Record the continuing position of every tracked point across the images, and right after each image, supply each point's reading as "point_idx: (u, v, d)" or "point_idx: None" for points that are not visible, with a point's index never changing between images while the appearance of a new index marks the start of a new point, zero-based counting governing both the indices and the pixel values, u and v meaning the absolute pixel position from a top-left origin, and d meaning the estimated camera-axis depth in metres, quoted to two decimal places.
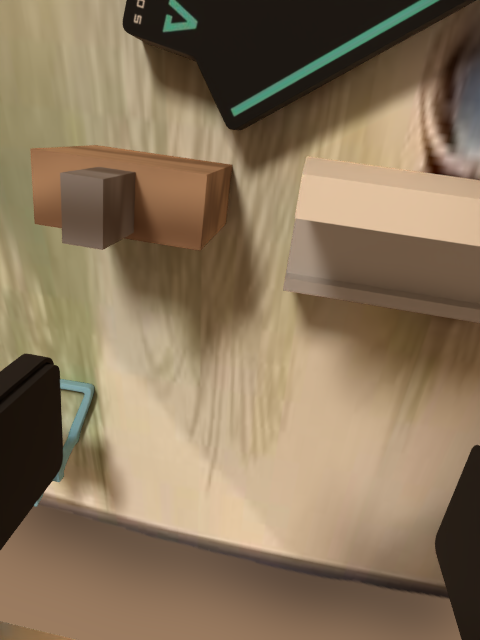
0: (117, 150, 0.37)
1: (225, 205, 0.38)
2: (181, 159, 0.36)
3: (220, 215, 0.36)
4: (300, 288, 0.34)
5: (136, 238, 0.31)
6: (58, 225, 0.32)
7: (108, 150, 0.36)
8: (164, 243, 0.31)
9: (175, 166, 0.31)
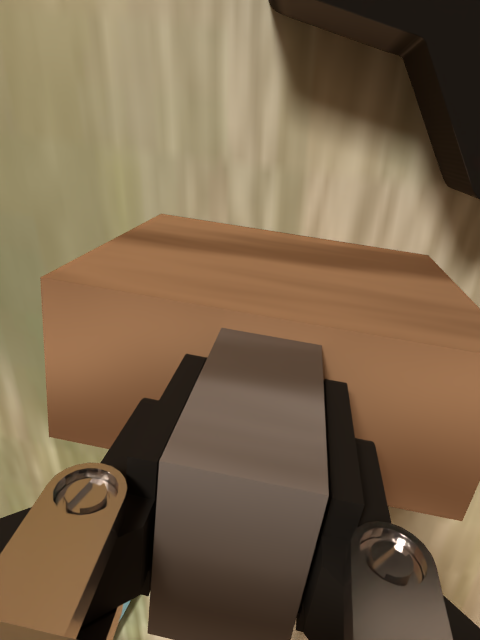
0: (210, 232, 0.18)
1: None
2: (340, 251, 0.18)
3: None
4: None
5: None
6: (106, 444, 0.13)
7: (197, 236, 0.17)
8: None
9: (397, 309, 0.13)
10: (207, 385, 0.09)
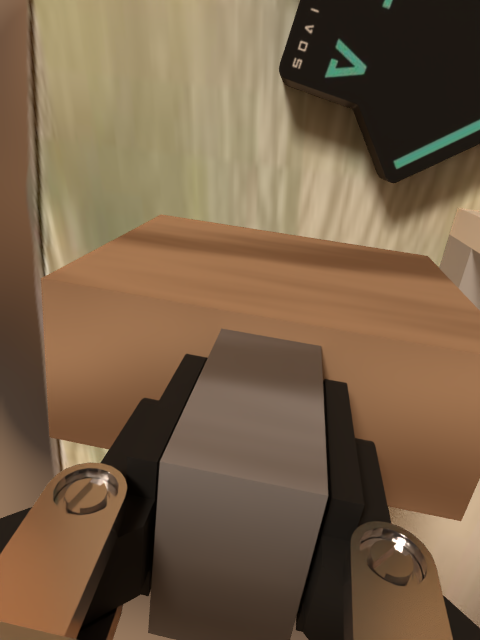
0: (210, 232, 0.18)
1: None
2: (340, 252, 0.18)
3: None
4: None
5: None
6: (106, 444, 0.13)
7: (197, 237, 0.17)
8: None
9: (396, 310, 0.13)
10: (207, 386, 0.09)
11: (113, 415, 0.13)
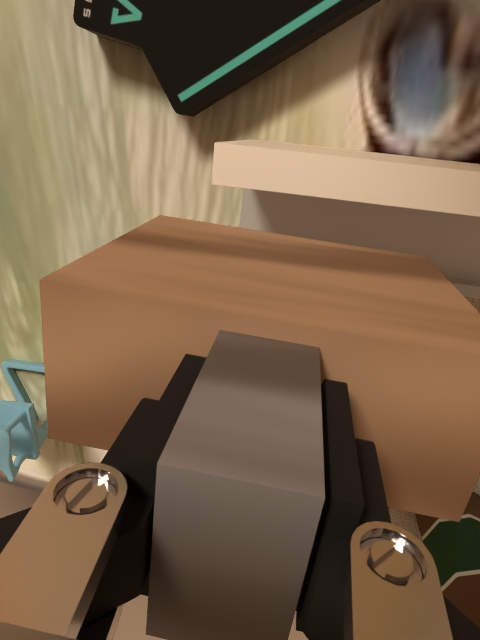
0: (209, 233, 0.18)
1: None
2: (339, 253, 0.18)
3: None
4: None
5: None
6: (105, 445, 0.13)
7: (196, 238, 0.17)
8: None
9: (395, 311, 0.13)
10: (205, 387, 0.09)
11: (112, 416, 0.13)
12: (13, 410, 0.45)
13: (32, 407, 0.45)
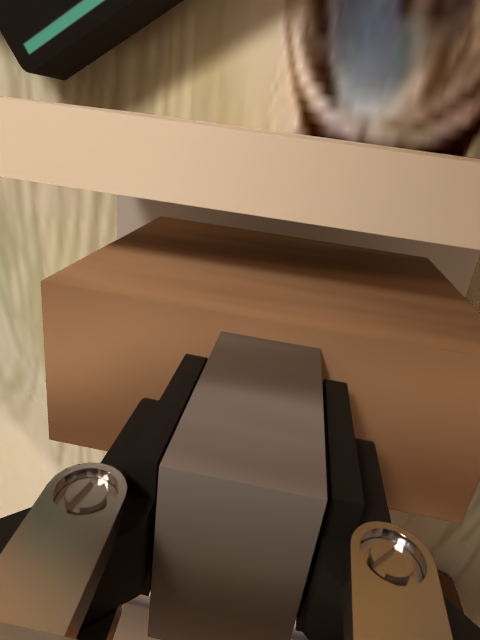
0: (210, 234, 0.18)
1: None
2: (340, 253, 0.18)
3: None
4: None
5: None
6: (106, 446, 0.13)
7: (196, 239, 0.17)
8: None
9: (396, 313, 0.13)
10: (206, 389, 0.09)
11: (113, 417, 0.13)
12: None
13: None
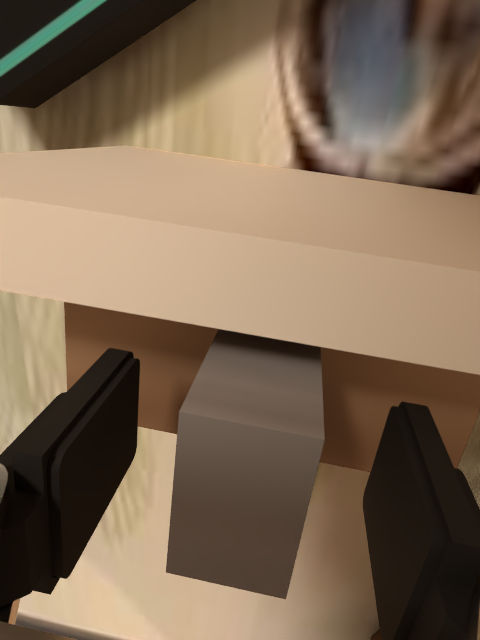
0: None
1: None
2: None
3: None
4: None
5: None
6: None
7: None
8: (364, 468, 0.14)
9: None
10: (217, 354, 0.10)
11: None
12: None
13: None
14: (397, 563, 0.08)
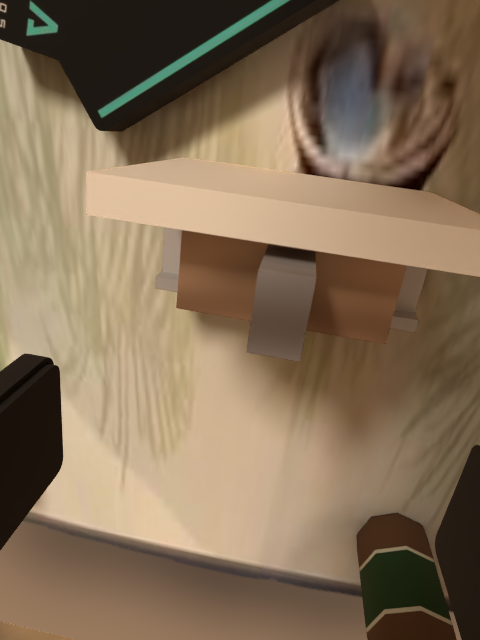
0: None
1: None
2: None
3: None
4: (171, 286, 0.35)
5: None
6: (206, 310, 0.26)
7: None
8: (340, 334, 0.25)
9: None
10: (268, 257, 0.21)
11: (211, 293, 0.25)
12: None
13: None
14: None
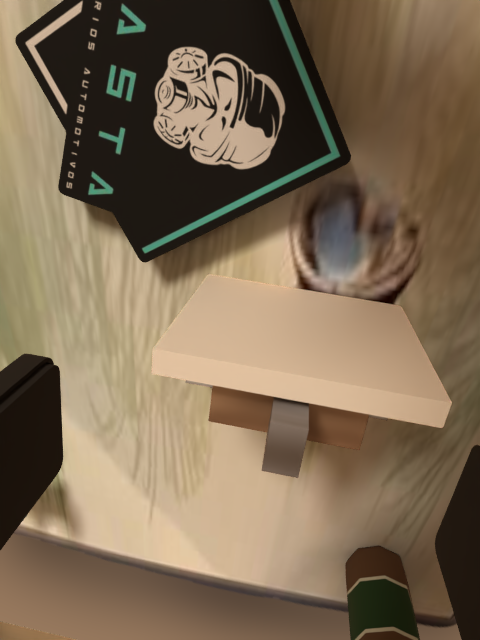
0: None
1: None
2: None
3: None
4: (198, 381, 0.45)
5: None
6: (230, 423, 0.36)
7: None
8: (326, 442, 0.35)
9: None
10: (276, 404, 0.31)
11: (234, 412, 0.35)
12: None
13: None
14: None
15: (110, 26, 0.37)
